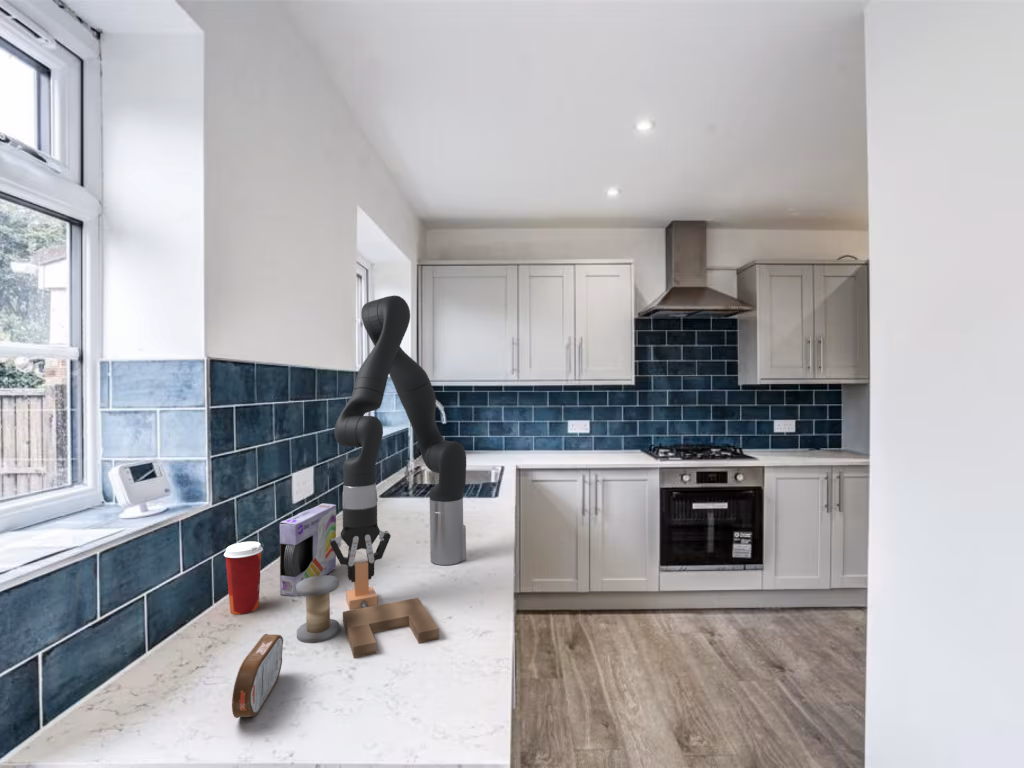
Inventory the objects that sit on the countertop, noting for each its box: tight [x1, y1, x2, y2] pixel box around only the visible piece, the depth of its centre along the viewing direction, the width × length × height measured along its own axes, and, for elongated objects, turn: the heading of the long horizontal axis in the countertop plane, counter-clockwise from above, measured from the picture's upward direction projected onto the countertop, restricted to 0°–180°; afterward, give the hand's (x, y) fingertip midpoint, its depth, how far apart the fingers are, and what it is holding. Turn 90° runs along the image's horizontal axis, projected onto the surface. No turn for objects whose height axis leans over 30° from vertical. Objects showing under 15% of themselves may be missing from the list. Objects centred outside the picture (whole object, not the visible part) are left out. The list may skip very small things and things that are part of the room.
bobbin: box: [296, 574, 341, 644], centre depth 104 cm, size 8×8×10 cm
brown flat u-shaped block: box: [342, 597, 440, 659], centre depth 105 cm, size 16×16×2 cm
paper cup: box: [223, 541, 264, 616], centre depth 115 cm, size 8×8×14 cm
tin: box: [231, 633, 284, 719], centre depth 82 cm, size 15×3×8 cm, turn 6°
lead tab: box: [345, 559, 378, 611], centre depth 116 cm, size 6×10×9 cm, turn 25°
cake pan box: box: [279, 503, 337, 597], centre depth 130 cm, size 19×5×18 cm, turn 168°
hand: (361, 579), depth 118 cm, fingers closed on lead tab, 3 cm apart
